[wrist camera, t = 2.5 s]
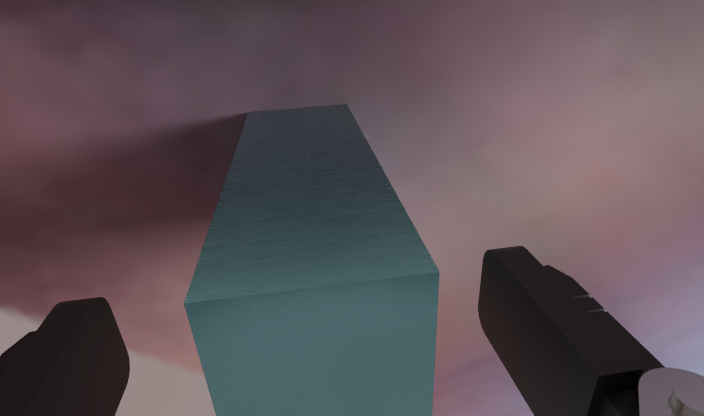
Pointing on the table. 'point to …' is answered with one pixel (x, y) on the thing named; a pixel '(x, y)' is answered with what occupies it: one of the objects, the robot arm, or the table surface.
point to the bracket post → (313, 278)
